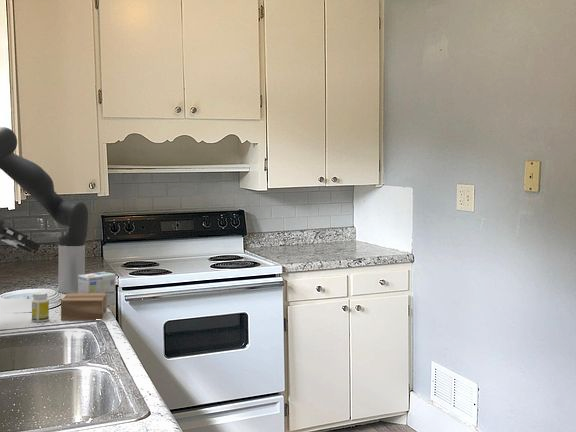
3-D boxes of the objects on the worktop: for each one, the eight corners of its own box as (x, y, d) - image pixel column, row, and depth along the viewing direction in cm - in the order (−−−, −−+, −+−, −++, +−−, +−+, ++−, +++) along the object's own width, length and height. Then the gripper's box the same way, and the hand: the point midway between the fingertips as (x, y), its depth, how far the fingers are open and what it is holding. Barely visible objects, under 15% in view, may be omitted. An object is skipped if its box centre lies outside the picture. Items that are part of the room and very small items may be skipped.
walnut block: (67, 311, 210) (67, 292, 209) (106, 311, 212) (106, 292, 211) (60, 320, 198) (61, 300, 197) (101, 320, 200) (102, 300, 199)
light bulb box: (104, 302, 225) (104, 271, 224) (116, 305, 221) (116, 273, 220) (76, 306, 217) (77, 274, 216) (88, 310, 213) (89, 277, 212)
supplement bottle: (50, 318, 199) (51, 291, 199) (45, 322, 195) (45, 294, 194) (34, 318, 199) (35, 291, 198) (29, 322, 194) (29, 294, 194)
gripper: (-6, 208, 182) (47, 236, 189) (-15, 213, 194) (35, 239, 201) (-20, 232, 180) (34, 259, 187) (-28, 235, 191) (23, 261, 199)
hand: (35, 249), depth 194 cm, fingers open, 8 cm apart
